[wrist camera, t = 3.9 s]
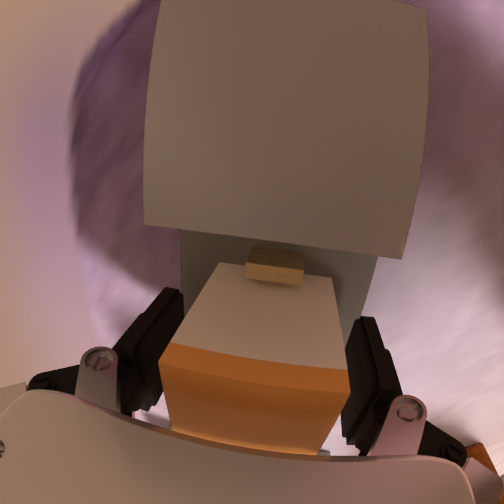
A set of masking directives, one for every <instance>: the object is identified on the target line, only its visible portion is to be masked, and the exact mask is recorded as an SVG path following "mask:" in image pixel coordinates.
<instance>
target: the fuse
mask: <svg viewBox="0 0 504 504" xmlns="http://www.w3.org/2000/svg"><path fill="white" fill-rule="evenodd" d="M428 93H429V45H428V28H427V16H426V10H424V9H422V8H419V7H416V6H413V5H411V4H408V3H405V2H401V1H398V0H161V4H160V9H159V14H158V19H157V24H156V30H155V36H154V42H153V49H152V56H151V63H150V71H149V80H148V89H147V100H146V113H145V128H144V151H143V217H144V225H150V226H159V227H167V228H175V229H183V230H191V231H199V232H207V233H215V234H223V235H230V236H238V237H246V238H253V239H261V240H268V241H276V242H283V243H290V244H298V245H305V246H312V247H319V248H326V249H333V250H340V251H347V252H354V253H361V254H368V255H374V256H381V257H388V258H394V259H402V255H403V252H404V248H405V244H406V240H407V236H408V232H409V228H410V224H411V219H412V215H413V210H414V205H415V201H416V195H417V190H418V184H419V179H420V172H421V166H422V159H423V152H424V143H425V134H426V124H427V111H428Z"/></svg>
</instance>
